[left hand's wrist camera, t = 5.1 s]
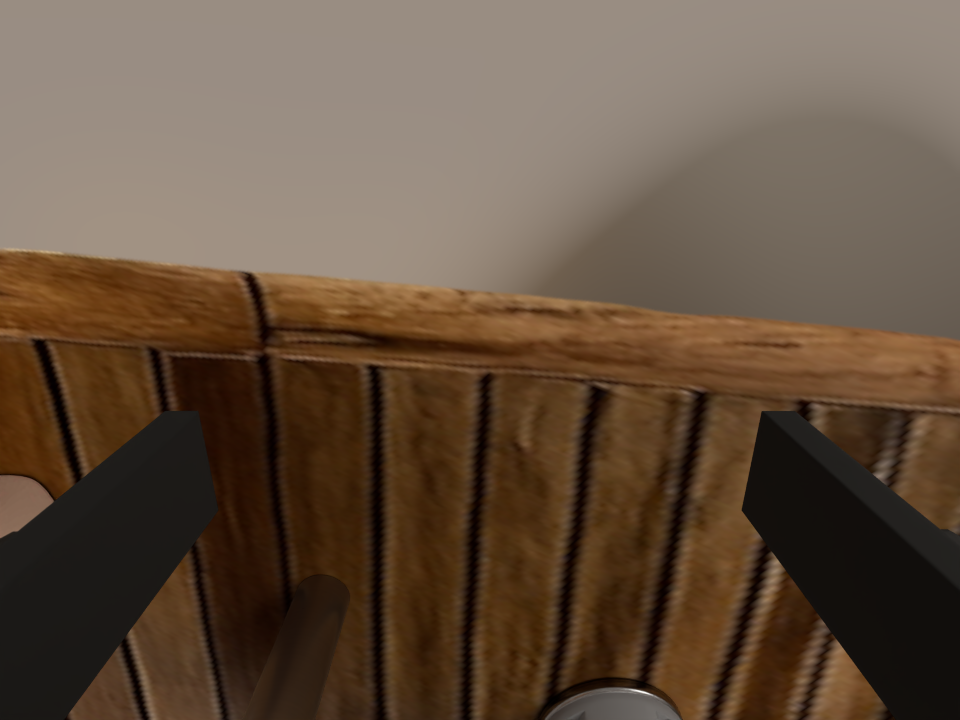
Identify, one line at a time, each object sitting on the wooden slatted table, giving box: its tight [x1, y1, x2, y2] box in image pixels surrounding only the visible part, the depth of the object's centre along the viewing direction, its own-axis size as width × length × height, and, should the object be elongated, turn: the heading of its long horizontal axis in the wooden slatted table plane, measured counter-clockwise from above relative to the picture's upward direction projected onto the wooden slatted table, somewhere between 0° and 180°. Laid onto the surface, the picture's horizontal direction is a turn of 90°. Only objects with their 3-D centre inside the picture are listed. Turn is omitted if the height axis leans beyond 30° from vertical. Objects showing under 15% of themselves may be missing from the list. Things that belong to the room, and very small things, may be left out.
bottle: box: [242, 575, 350, 720], centre depth 40 cm, size 5×5×21 cm
